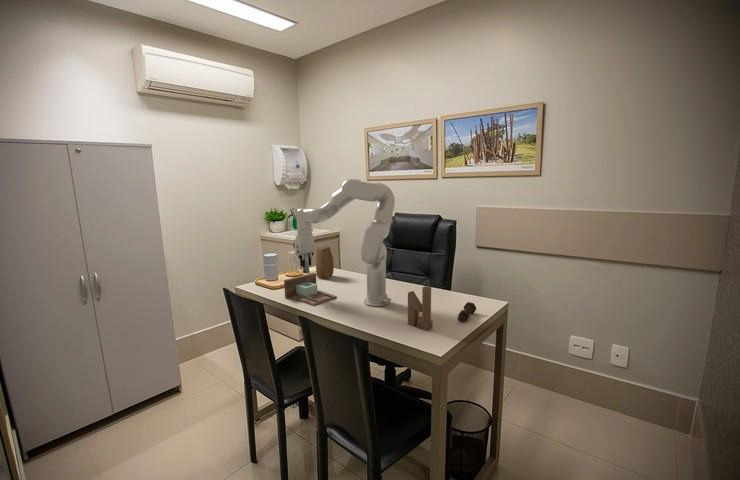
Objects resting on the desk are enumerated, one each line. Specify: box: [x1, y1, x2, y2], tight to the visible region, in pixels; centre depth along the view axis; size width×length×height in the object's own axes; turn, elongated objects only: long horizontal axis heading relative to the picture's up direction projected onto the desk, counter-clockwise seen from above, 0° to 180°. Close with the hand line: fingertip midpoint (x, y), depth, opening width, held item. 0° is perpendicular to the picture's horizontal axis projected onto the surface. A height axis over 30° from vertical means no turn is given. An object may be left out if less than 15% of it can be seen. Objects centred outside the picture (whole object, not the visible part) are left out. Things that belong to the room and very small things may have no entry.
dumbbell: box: [457, 301, 477, 323], centre depth 160 cm, size 6×5×15 cm
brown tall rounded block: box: [315, 245, 335, 280], centre depth 231 cm, size 11×8×20 cm
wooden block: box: [407, 285, 434, 332], centre depth 150 cm, size 4×11×18 cm, turn 44°
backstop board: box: [283, 272, 338, 307], centre depth 191 cm, size 24×20×10 cm
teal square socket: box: [296, 282, 319, 297], centre depth 194 cm, size 8×8×5 cm
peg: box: [302, 253, 310, 274], centre depth 191 cm, size 3×3×12 cm
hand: (305, 265), depth 192 cm, fingers closed on peg, 3 cm apart
